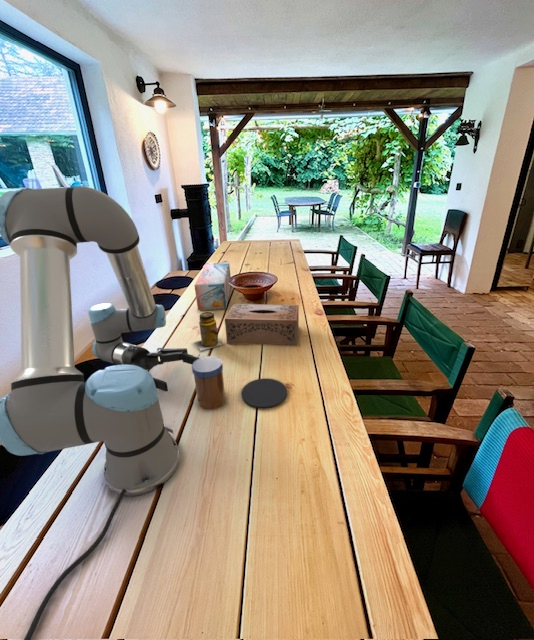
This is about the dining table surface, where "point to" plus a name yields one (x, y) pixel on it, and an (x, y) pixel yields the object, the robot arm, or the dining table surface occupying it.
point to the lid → (207, 367)
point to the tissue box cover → (262, 324)
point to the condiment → (208, 332)
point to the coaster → (264, 393)
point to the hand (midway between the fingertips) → (183, 374)
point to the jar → (210, 391)
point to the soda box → (213, 286)
